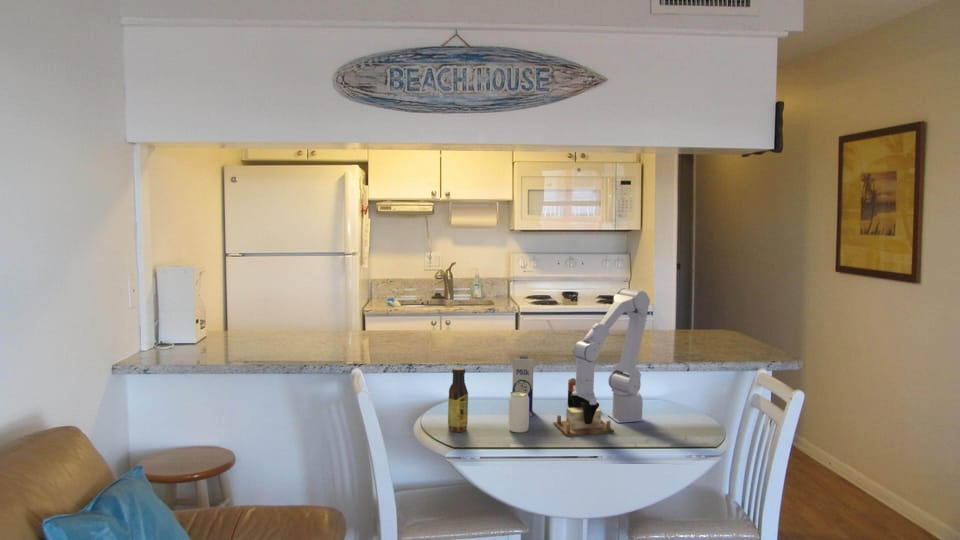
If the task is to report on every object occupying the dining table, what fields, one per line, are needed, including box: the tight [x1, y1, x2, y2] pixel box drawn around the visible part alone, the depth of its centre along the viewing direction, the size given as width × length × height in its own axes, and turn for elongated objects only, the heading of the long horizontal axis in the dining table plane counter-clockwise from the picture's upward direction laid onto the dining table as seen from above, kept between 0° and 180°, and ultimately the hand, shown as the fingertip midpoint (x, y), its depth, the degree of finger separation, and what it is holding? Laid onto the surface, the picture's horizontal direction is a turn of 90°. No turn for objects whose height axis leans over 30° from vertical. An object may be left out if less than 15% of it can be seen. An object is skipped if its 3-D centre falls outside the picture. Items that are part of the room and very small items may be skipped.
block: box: [565, 407, 602, 429], centre depth 200 cm, size 10×4×6 cm, turn 104°
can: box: [507, 391, 530, 434], centre depth 198 cm, size 6×6×12 cm
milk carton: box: [511, 355, 535, 418], centre depth 213 cm, size 7×7×20 cm
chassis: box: [552, 414, 615, 437], centre depth 200 cm, size 16×11×3 cm
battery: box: [567, 377, 587, 408], centre depth 223 cm, size 4×7×10 cm, turn 84°
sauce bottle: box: [447, 366, 469, 433], centre depth 197 cm, size 6×6×20 cm
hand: (583, 419), depth 200 cm, fingers open, 7 cm apart
